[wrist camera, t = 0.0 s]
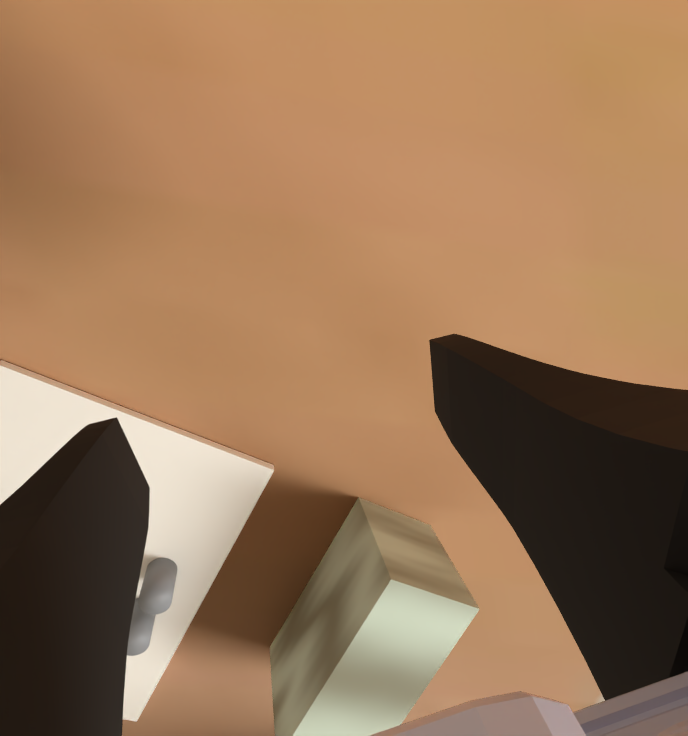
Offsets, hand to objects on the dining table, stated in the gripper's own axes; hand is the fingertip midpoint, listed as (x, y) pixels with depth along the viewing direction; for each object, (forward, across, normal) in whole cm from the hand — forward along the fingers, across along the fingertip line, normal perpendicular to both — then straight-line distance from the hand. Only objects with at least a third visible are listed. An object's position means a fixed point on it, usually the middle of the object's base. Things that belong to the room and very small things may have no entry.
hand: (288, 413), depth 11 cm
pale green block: (+8, -1, +17) cm, 19 cm away
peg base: (+9, +11, +11) cm, 18 cm away
